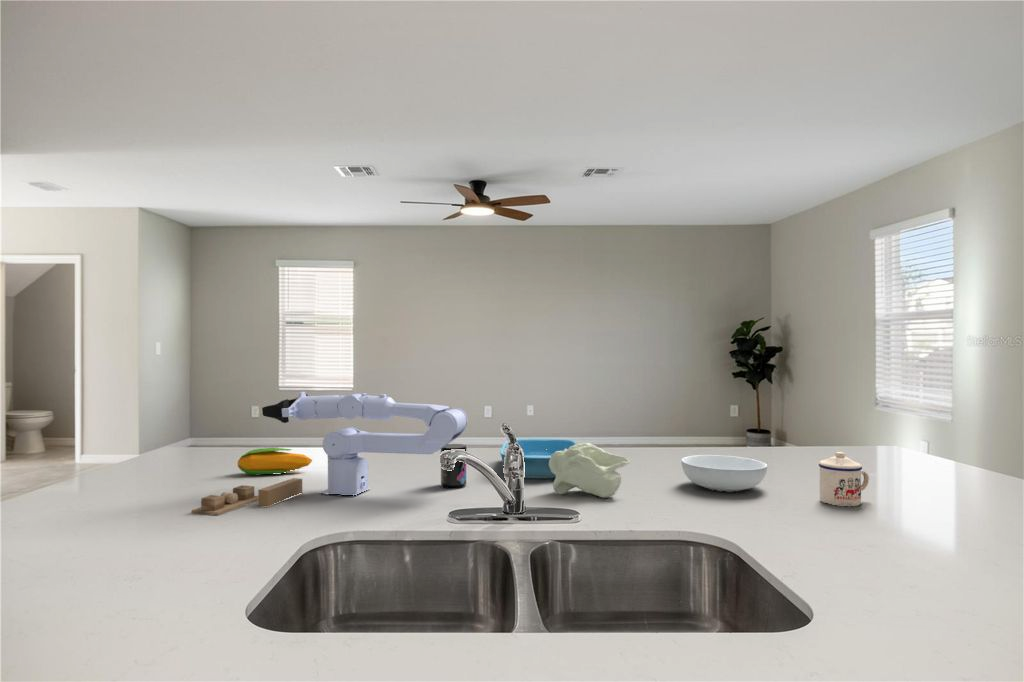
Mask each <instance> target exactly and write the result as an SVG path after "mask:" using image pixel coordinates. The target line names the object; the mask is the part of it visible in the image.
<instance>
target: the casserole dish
mask: <svg viewBox="0 0 1024 682" xmlns="http://www.w3.org/2000/svg"><path fill="white" fill-rule="evenodd" d="M516 440H517V442H518V444H519V445H520V446H521V448H522V449H523V452H524V456H523V457H524V462H525V478H524V479H556V475H555V474H554V473H552V472H551V469H550V467H549V460H550V458H551V455H552V454H553V453H555V452H556V451H563V450H564V449H567V450H568V449H569V447H570V446H573V445H576V444H578V443H577V441H575V440H572V439H569V438H568V439H567V438H553V437H552V438H551V437H550V438H548V437H547V438H546V437H545V438H544V437H543V438H541V437H539V438H538V437H537V438H536V437H535V438H532V437H531V438H516ZM508 441H509V440H506V441H505V442H504V443H503V444H502V446H501V449H500V452H499V454H500V456H501V460H502V463H503V462H504V457H505V452H504V449H503V448H505V447H506V446H507V444H508ZM546 449H547V450H546ZM528 477H529V478H528Z"/></svg>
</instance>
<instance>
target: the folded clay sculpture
mask: <svg viewBox="0 0 1024 682" xmlns="http://www.w3.org/2000/svg"><path fill="white" fill-rule="evenodd" d="M630 463H631V462H630V460H629V459H628V458H627V457H625V456H622V455H618V454H614V453H610V452H608V451H606V450H604V449H602V448H600V447H598V446H596V445H595V444H592V443H590V442H580V443H577V444H576V445H573V446H570V447H569V449H568V450H567V449H564V450H563V451H556V452H555V453H553V454H552V455H551V458H550V460H549V467H550V469H551V472H552V473H554V474H555V475H556V478H554V480H553V485H552V486H553V491H554V492H555V493H556V494H557V495H559V494H562V495H565V494H566V493H568V492H569V491H570V490H571V489H575V488H577V489H579V490H581V491H583V492H584V493H586V494H592V495H593V496H598V497H599V498H603V499H607V498H610V497H613V496H614V495H616V492H617V491H618V490H619V488H620V486H621V484H622V475H621V474H620V473H619V472H618V471H617V469H620V468H623V467H626V466H627V465H629V464H630Z"/></svg>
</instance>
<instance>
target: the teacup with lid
mask: <svg viewBox="0 0 1024 682" xmlns="http://www.w3.org/2000/svg"><path fill="white" fill-rule="evenodd" d="M818 466H819V500H820V502H822V503H824V504H826V503H828V504H827V505H830V504H832V505H831V506H835V505H837V506H836V507H844V506H848V508H851V506H853V507H857V506H860V505H861V504H862V491H864V490H865V489H867V487H868V485H869V481H870V477H869V476H870V475H869V473H868V472H867V471H865V470H863V467H862V464H861V463H859V462H857V461H854V460H852V459H851V458H849V457H847V456H846V453H845V452H843V451H837V452H835V455H833V456H831V457H828V458H827V459H822V460H820V461H819V462H818ZM862 476H863V482H862Z"/></svg>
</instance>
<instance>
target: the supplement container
mask: <svg viewBox="0 0 1024 682" xmlns="http://www.w3.org/2000/svg"><path fill="white" fill-rule="evenodd" d="M467 448H468V447H467V444H462V443H449V444H447V445H446V446H444V447H443V448H441V449H440V453H441V452H442V451H444V450H451V449H465V451H468V450H467ZM440 485H441V487H442V488H444V489H449V488H451V489H452V488H457V489H462V488H465V486H466V485H467V463H466V464H465V463H463V462H459V461H457V462H456V463H455V467H454V470H452V471H447V470H443V469H442V468H441V467H440ZM451 489H450V490H451Z"/></svg>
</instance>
